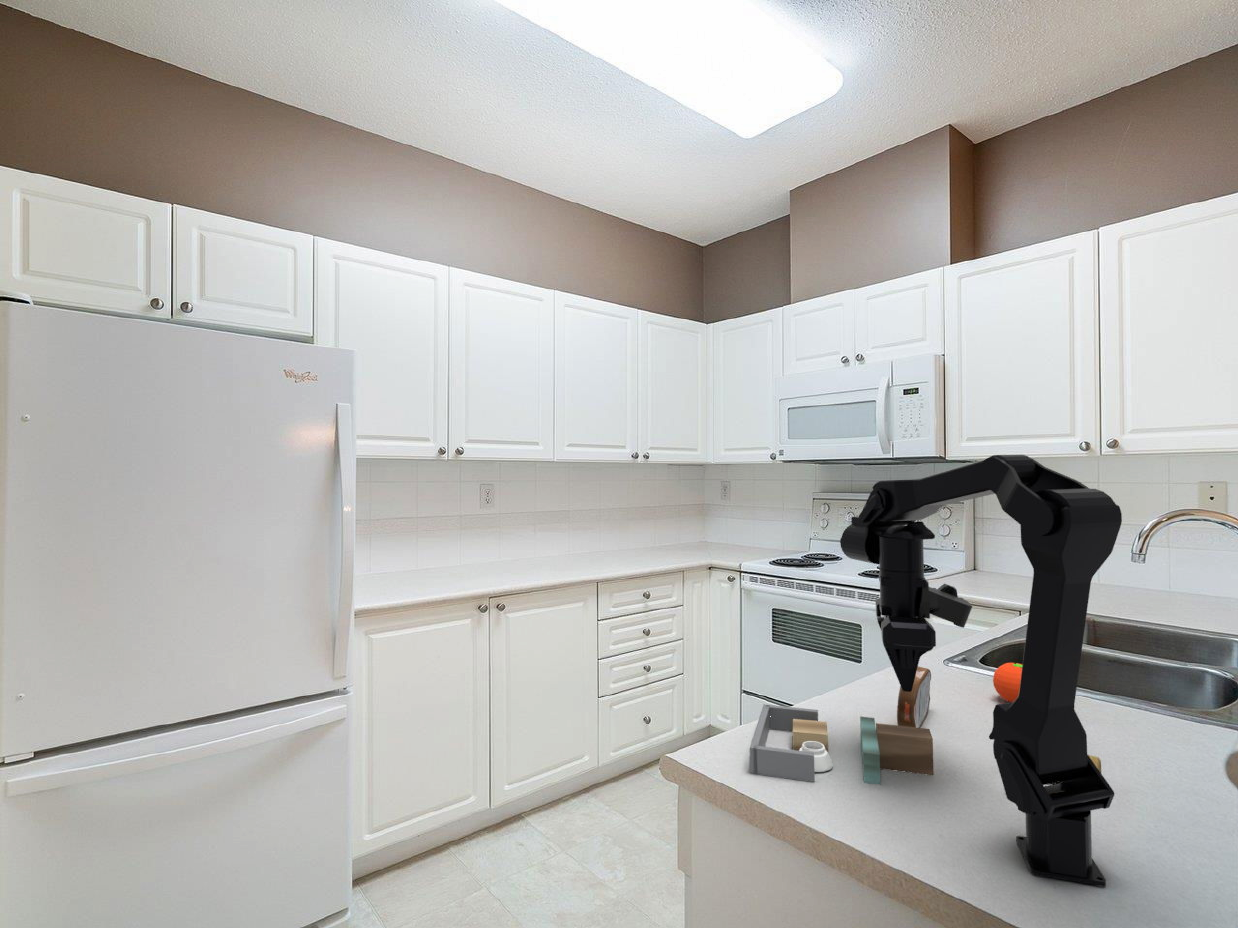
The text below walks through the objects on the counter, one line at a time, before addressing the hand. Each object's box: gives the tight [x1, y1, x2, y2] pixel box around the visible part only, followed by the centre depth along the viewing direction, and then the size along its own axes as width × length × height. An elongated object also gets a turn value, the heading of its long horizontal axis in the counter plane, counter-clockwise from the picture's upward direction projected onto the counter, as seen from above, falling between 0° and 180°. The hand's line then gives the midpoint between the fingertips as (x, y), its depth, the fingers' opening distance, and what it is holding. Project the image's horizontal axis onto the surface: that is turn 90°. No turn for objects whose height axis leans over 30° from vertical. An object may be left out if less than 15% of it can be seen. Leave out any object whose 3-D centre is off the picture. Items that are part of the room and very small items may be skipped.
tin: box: [896, 666, 932, 728], centre depth 104 cm, size 15×3×8 cm, turn 145°
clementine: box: [992, 662, 1023, 703], centre depth 111 cm, size 8×7×7 cm
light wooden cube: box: [792, 719, 829, 753], centre depth 96 cm, size 5×5×3 cm
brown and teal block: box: [859, 716, 935, 785], centre depth 89 cm, size 13×9×5 cm
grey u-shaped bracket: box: [749, 704, 819, 783], centre depth 94 cm, size 17×8×4 cm, turn 161°
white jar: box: [799, 741, 833, 773], centre depth 90 cm, size 5×3×5 cm
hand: (903, 680), depth 89 cm, fingers open, 9 cm apart
